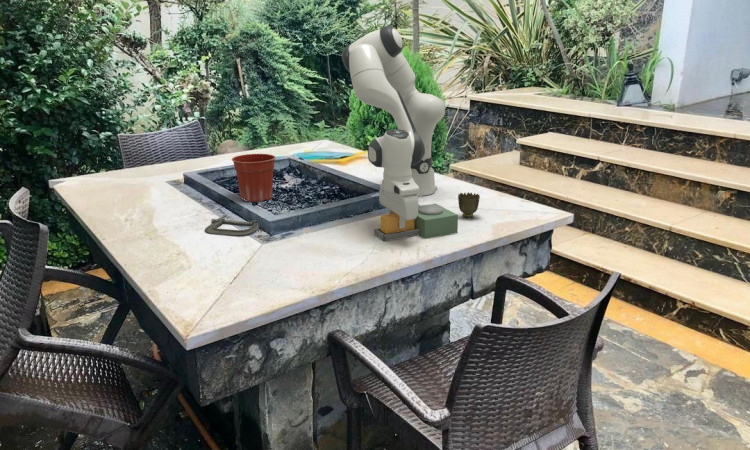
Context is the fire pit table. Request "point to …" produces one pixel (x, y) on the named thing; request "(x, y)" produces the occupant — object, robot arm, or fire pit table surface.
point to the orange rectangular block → (394, 223)
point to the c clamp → (218, 222)
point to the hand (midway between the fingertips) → (397, 225)
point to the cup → (468, 204)
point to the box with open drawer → (427, 224)
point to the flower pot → (255, 176)
